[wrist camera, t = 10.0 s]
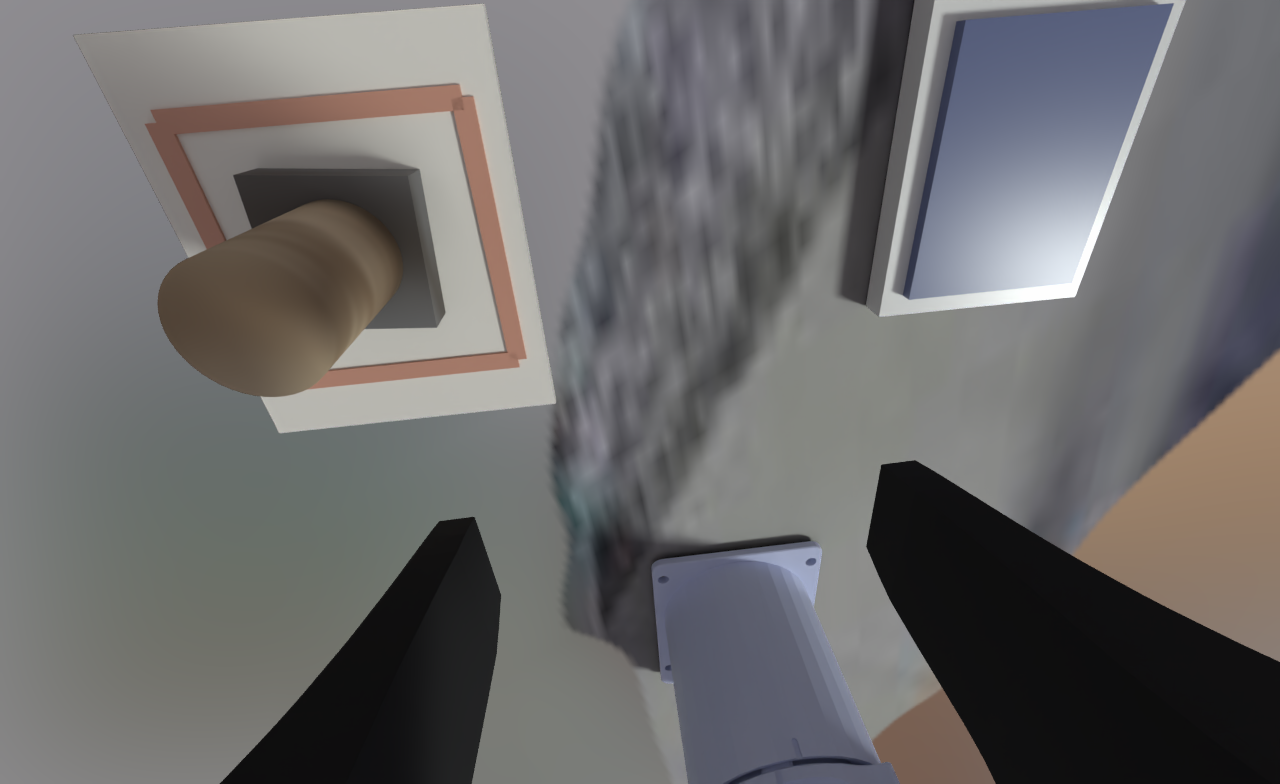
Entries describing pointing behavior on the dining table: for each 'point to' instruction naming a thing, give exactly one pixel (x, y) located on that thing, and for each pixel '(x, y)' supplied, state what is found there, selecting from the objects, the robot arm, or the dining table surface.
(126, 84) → the sheet
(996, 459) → the dining table surface
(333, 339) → the stamp
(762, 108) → the dining table surface
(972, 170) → the ink pad
